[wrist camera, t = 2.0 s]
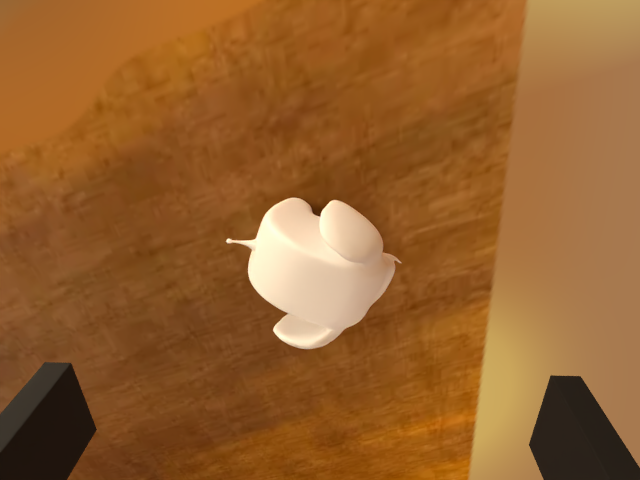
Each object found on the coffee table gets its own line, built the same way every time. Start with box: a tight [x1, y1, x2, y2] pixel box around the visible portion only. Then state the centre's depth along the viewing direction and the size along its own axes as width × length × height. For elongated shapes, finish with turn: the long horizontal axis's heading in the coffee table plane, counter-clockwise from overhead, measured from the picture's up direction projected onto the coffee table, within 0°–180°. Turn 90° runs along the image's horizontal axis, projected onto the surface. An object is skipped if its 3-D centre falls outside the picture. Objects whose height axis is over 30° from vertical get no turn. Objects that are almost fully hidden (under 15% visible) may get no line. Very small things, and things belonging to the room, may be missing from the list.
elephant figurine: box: [226, 198, 401, 349], centre depth 19 cm, size 7×8×6 cm
